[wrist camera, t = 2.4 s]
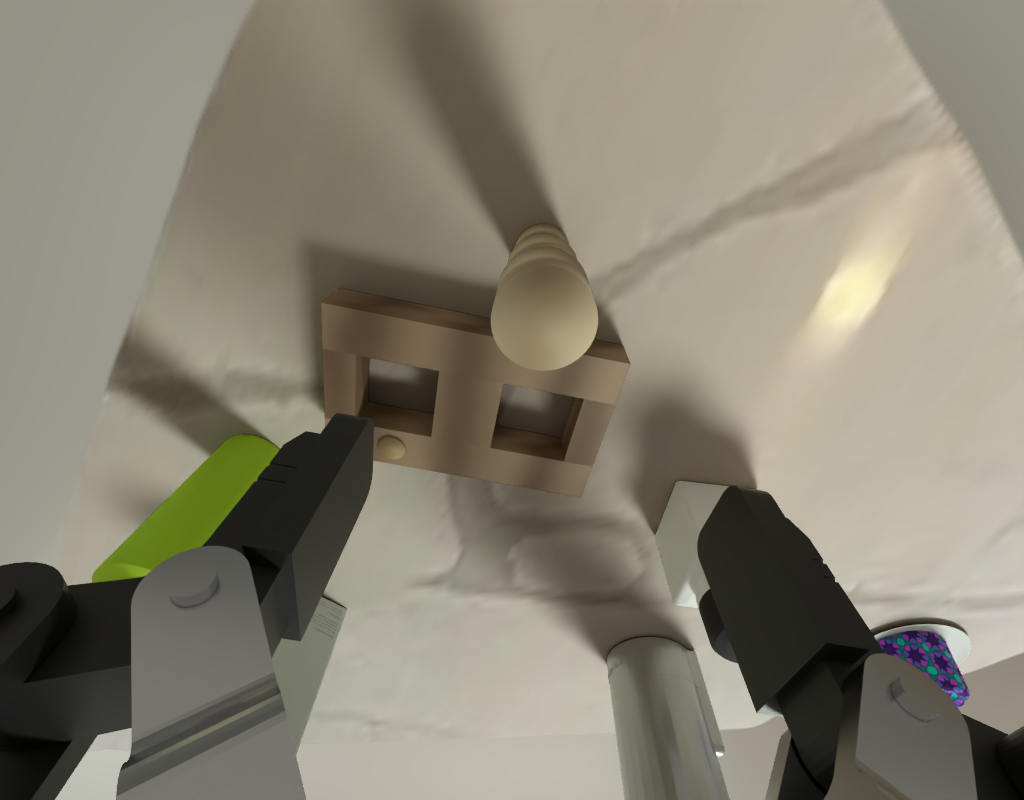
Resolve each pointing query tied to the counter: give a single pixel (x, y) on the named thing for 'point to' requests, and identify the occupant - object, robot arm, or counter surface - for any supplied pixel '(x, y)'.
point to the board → (464, 393)
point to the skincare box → (306, 665)
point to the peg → (543, 303)
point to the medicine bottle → (691, 556)
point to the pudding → (932, 654)
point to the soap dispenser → (191, 509)
